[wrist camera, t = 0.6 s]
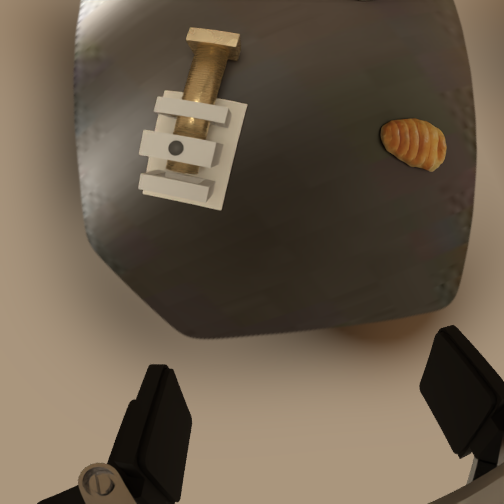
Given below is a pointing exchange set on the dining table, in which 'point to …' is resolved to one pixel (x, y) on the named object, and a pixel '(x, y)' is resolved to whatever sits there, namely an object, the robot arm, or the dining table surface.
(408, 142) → the pastry
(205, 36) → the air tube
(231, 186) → the dining table surface
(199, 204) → the white slotted holder
